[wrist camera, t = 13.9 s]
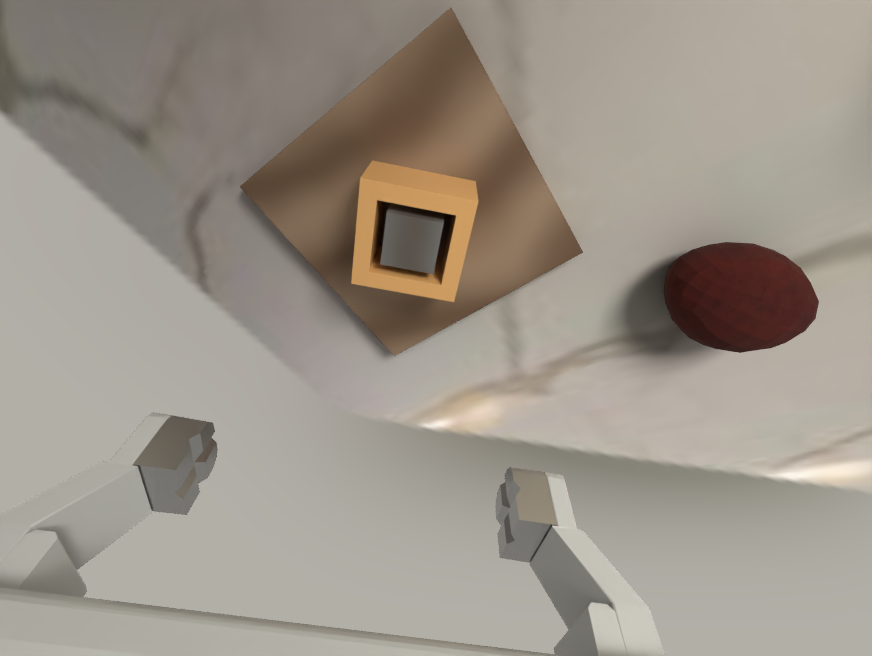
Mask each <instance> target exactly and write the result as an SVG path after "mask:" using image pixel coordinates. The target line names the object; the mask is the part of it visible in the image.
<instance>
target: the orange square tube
mask: <svg viewBox="0 0 872 656" xmlns="http://www.w3.org/2000/svg"><path fill="white" fill-rule="evenodd" d="M384 202H390V203H395V204H400V205H405V206H410V207H415V208H420V209H426V210H431V211H436V212H441V213H446V214H451V215H452V217H451V222H450V226H449V231H448V236H447V241H446V245H445V250H444V255H443V258H442V257H437V259H436V264H435V269H434V274H430V273H424V272H419V271H413V270H408V269H402V268H397V267H391V266H386V265H380V262H381V254H382V246H379V241H380V233H381V224H382V216H383V208H384ZM477 206H478V194H477V187H476V181H472V180H467V179H462V178H457V177H452V176H447V175H442V174H437V173H432V172H427V171H422V170H417V169H412V168H407V167H402V166H397V165H393V164H388V163H383V162H378V161H373V160H372V162H371V163H370V164H369V166H368V167H367V169H366V170H365V172H364V173H363V175H362V176H361V177H360V186H359V198H358V209H357V221H356V233H355V245H354V257H353V268H352V280H351V284H356V285H362V286H367V287H373V288H378V289H384V290H389V291H395V292H401V293H406V294H412V295H417V296H423V297H428V298H434V299H439V300H445V301H451V302H454V301H455V296H456V292H457V288H458V284H459V280H460V276H461V272H462V268H463V263H464V259H465V255H466V251H467V247H468V243H469V239H470V234H471V230H472V226H473V222H474V218H475V214H476V210H477Z"/></svg>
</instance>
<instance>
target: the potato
mask: <svg viewBox="0 0 872 656" xmlns="http://www.w3.org/2000/svg"><path fill="white" fill-rule="evenodd" d="M664 295H665V302H666V305H667V308H668V310H669V313H670V315H671V318H672V320H673V321H674V322H675V323H676V325H677V326H678V327H679V328H680V329H681V330H682V331H683V332H684V333H685V334H686V335H687V336H688V337H689V338H691V339H693V340H695V341H697V342H699V343H701V344H703V345H706V346H709V347H712V348H715V349H721V350H727V351H733V352H739V353H741V352H747V351H754V350H760V349H767V348H772V347H775V346H778V345H780V344H783V343H786V342H788V341H789V340H791V339H792V338H794V337H796V336H797V335H799V334H800V333H802V332H804V331H805V330H806V329H807V328H808V327H809V325H810V324H811V323H812V322H813V321H814V320H815V318H816V313H817V308H818V303H819V301H818V299H817V296H816V294H815V292H814V289H813V287H812V285H811V283H810V281H809V280H808V278H807V277H806V275H805V274H804V272H803V271H802V269H801V268H800V267H799V266H797V265H796V264H795V263H793V262H792V261H791V260H790V259H788V258H787V257H786V256H784V255H782V254H780V253H778V252H776V251H774V250H771V249H768V248H765V247H762V246H759V245H756V244H749V243H730V242H725V243H718V244H711V245H707V246H703V247H700V248H697V249H693V250H691V251H689V252H688V253H686V254H684V255H682V256H680V257H679V258H678V259H677V260H676V261H675V262H674V263H673V264H672V265H671V266H670V268H669V270H668V273H667V275H666V278H665V285H664Z"/></svg>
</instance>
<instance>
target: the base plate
mask: <svg viewBox="0 0 872 656" xmlns="http://www.w3.org/2000/svg"><path fill="white" fill-rule="evenodd" d="M372 160H373V161H378V162H383V163H388V164H393V165H397V166H402V167H407V168H412V169H417V170H422V171H427V172H432V173H437V174H442V175H447V176H452V177H457V178H462V179H467V180H472V181H476V187H477V194H478V206H477V210H476V214H475V218H474V222H473V226H472V230H471V234H470V239H469V243H468V247H467V251H466V255H465V259H464V263H463V268H462V272H461V276H460V280H459V284H458V288H457V292H456V296H455V301H454V302H451V301H445V300H439V299H434V298H428V297H423V296H417V295H412V294H406V293H401V292H395V291H389V290H384V289H378V288H373V287H367V286H362V285H356V284H351V280H352V268H353V257H354V245H355V233H356V221H357V209H358V198H359V186H360V177H361V176H362V175H363V173H364V172H365V170H366V169H367V167H368V166H369V164H370V163H371V162H372ZM240 187H241V189H242V190H243V191H244V192H245V193H246V194H247V195H248V196H249V197H250V198H251V199H252V201H253V202H254V203H255V204H256V205H257V206H258V207H259V208H260V209H261V210H262V212H263V213H264V214H265V215H266V216H267V217H268V218H269V219H270V220H271V221H272V223H273V224H274V225H275V226H276V227H277V228H278V229H279V230H280V231H281V232H282V234H283V235H284V236H285V237H286V238H287V239H288V240H289V241H290V242H291V243H292V245H293V246H294V247H295V248H296V249H297V250H298V251H299V252H300V253H301V254H302V255H303V257H304V258H305V259H306V260H307V261H308V262H309V263H310V264H311V265H312V266H313V268H314V269H315V270H316V271H317V272H318V273H319V274H320V275H321V276H322V277H323V279H324V280H325V281H326V282H327V283H328V284H329V285H330V286H331V287H332V288H333V290H334V291H335V292H336V293H337V294H338V295H339V296H340V297H341V298H342V299H343V301H344V302H345V303H346V304H347V305H348V306H349V307H350V308H351V309H352V310H353V311H354V313H355V314H356V315H357V316H358V317H359V318H360V319H361V320H362V321H363V322H364V324H365V325H366V326H367V327H368V328H369V329H370V330H371V331H372V332H373V333H374V335H375V336H376V337H377V338H378V339H379V340H380V341H381V342H382V343H383V344H384V346H385V347H386V348H387V349H388V350H389V351H390V352H391V353H392V354H393V355H394V356H395V355H397V354H399V353H401V352H402V351H404V350H406V349H408V348H410V347H411V346H413V345H415V344H417V343H419V342H421V341H422V340H424V339H426V338H428V337H430V336H431V335H433V334H435V333H437V332H439V331H441V330H442V329H444V328H446V327H448V326H450V325H452V324H453V323H455V322H457V321H459V320H461V319H462V318H464V317H466V316H468V315H470V314H472V313H473V312H475V311H477V310H479V309H481V308H483V307H484V306H486V305H488V304H490V303H492V302H493V301H495V300H497V299H499V298H501V297H503V296H504V295H506V294H508V293H510V292H512V291H514V290H515V289H517V288H519V287H521V286H523V285H524V284H526V283H528V282H530V281H532V280H534V279H535V278H537V277H539V276H541V275H543V274H545V273H546V272H548V271H550V270H552V269H554V268H555V267H557V266H559V265H561V264H563V263H565V262H566V261H568V260H570V259H572V258H574V257H575V256H577V255H579V254H581V253H583V251H582V249H581V248H580V246H579V244H578V242H577V240H576V238H575V236H574V235H573V233H572V231H571V229H570V227H569V225H568V223H567V222H566V220H565V218H564V216H563V214H562V212H561V210H560V209H559V207H558V205H557V203H556V201H555V199H554V197H553V196H552V194H551V192H550V190H549V188H548V186H547V184H546V183H545V181H544V179H543V177H542V175H541V173H540V171H539V170H538V168H537V166H536V164H535V162H534V160H533V158H532V157H531V155H530V153H529V151H528V149H527V147H526V146H525V144H524V142H523V140H522V138H521V136H520V134H519V133H518V131H517V129H516V127H515V125H514V123H513V121H512V120H511V118H510V116H509V114H508V112H507V110H506V108H505V107H504V105H503V103H502V101H501V99H500V97H499V95H498V94H497V92H496V90H495V88H494V86H493V84H492V82H491V81H490V79H489V77H488V75H487V73H486V71H485V69H484V68H483V66H482V64H481V62H480V60H479V58H478V56H477V55H476V53H475V51H474V49H473V47H472V45H471V43H470V42H469V40H468V38H467V36H466V34H465V32H464V30H463V29H462V27H461V25H460V23H459V21H458V19H457V17H456V16H455V14H454V12H453V10H452V8H450V9H449V10H447V11H446V12H445V13H444V14H443V15H442V16H440V17H439V18H438V19H437V20H436V21H435V22H433V23H432V24H431V25H430V26H429V27H427V28H426V29H425V30H424V31H423V32H422V33H420V34H419V35H418V36H417V37H416V38H414V39H413V40H412V41H411V42H410V43H409V44H407V45H406V46H405V47H404V48H403V49H402V50H400V51H399V52H398V53H397V54H396V55H394V56H393V57H392V58H391V59H390V60H389V61H387V62H386V63H385V64H384V65H383V66H381V67H380V68H379V69H378V70H377V71H376V72H374V73H373V74H372V75H371V76H370V77H369V78H367V79H366V80H365V81H364V82H363V83H361V84H360V85H359V86H358V87H357V88H356V89H354V90H353V91H352V92H351V93H350V94H348V95H347V96H346V97H345V98H344V99H343V100H341V101H340V102H339V103H338V104H337V105H336V106H334V107H333V108H332V109H331V110H330V111H328V112H327V113H326V114H325V115H324V116H323V117H321V118H320V119H319V120H318V121H317V122H315V123H314V124H313V125H312V126H311V127H310V128H308V129H307V130H306V131H305V132H304V133H302V134H301V135H300V136H299V137H298V138H297V139H295V140H294V141H293V142H292V143H291V144H290V145H288V146H287V147H286V148H285V149H284V150H282V151H281V152H280V153H279V154H278V155H277V156H275V157H274V158H273V159H272V160H271V161H269V162H268V163H267V164H266V165H265V166H264V167H262V168H261V169H260V170H259V171H258V172H257V173H255V174H254V175H253V176H252V177H251V178H249V179H248V180H247V181H246V182H245V183H244V184H242V185H241V186H240ZM451 217H452V215H451V214H446V213H441V212H436V211H431V210H426V209H420V208H415V207H410V206H405V205H400V204H395V203H390V202H384V208H383V216H382V224H381V233H380V241H379V246H382V254H381V262H380V265H386V266H391V267H397V268H402V269H408V270H413V271H419V272H424V273H430V274H434V269H435V264H436V259H437V257H442V258H443V255H444V250H445V245H446V241H447V236H448V231H449V226H450V222H451Z"/></svg>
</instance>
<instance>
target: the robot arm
mask: <svg viewBox="0 0 872 656" xmlns="http://www.w3.org/2000/svg"><path fill="white" fill-rule="evenodd" d="M214 432H215V430H214V425H213V423H211V422H206V421H200V420H195V419H189V418H184V417H178V416H172V415H166V414H160V413H151V414H150V415H148V416H147V417H146V418H145V419H144V420H143V421H142V423H141V424H140V425H139V426H138V427H137V429H136V430H135V431H134V432H133V433H132V435H131V436H130V437H129V438H128V440H127V441H126V442H125V443H124V444H123V446H122V447H121V448H120V449H119V451H118V452H117V453H116V454H115V455H114V457H113V458H112V459H111V460H110V461H109V462H106V461H102V462H100V463H99V464H97V465H95V466H93V467H91V468H89V469H87V470H85V471H83V472H81V473H79V474H77V475H75V476H74V477H71V478H69V479H67V480H66V481H64V482H62V483H60V484H58V485H56V486H54V487H52V488H50V489H48V490H46V491H44V492H42V493H40V494H39V495H36V496H34V497H33V498H30V499H29V500H27V501H25V502H23V503H21V504H19V505H17V506H15V507H13V508H11V509H9V510H7V511H6V512H3V513H1V514H0V656H665V653H664V651H663V648H662V645H661V642H660V639H659V636H658V633H657V630H656V627H655V624H654V621H653V618H652V615H651V612H650V610H649V608H648V607H647V605H646V604H645V603H644V602H643V601H642V600H641V598H640V597H639V596H638V595H637V594H636V593H635V592H634V590H633V589H632V588H631V587H630V585H629V584H628V583H627V582H626V581H625V580H624V578H623V577H622V576H621V575H620V574H619V572H618V571H617V570H616V569H615V568H614V567H613V565H612V564H611V563H610V562H609V561H608V560H607V558H606V557H605V556H604V555H603V554H602V553H601V551H600V550H599V549H598V548H597V547H596V546H595V544H594V543H593V542H592V541H591V540H590V538H589V537H588V536H587V535H586V534H585V533H584V531H583V530H580V529H577V526H576V523H575V519H574V515H573V511H572V507H571V503H570V499H569V495H568V491H567V487H566V484H565V480H564V478H563V476H562V475H558V474H551V473H545V472H541V471H534V470H526V469H519V468H512V467H510V468H508V469H507V471H506V473H505V483H503V484H501V485H500V488H499V490H498V493H497V499H496V519H497V520H498V522H499V523H500V524H501V528H500V530H499V532H498V543H499V553H500V558H505V559H512V560H517V561H524V562H529V563H530V566H531V567H532V569H533V571H534V572H535V574H536V575H537V577H538V579H539V581H540V583H541V584H542V586H543V587H544V589H545V591H546V593H547V594H548V596H549V597H550V599H551V601H552V603H553V604H554V606H555V608H556V609H557V611H558V613H559V614H560V616H561V618H562V619H563V621H564V622H565V624H566V626H567V628H568V629H569V630H568V632H567V633H566V634H565V635H564V637H563V638H562V639H561V640H560V641H559V643H558V644H557V645H556V646H555V647H554V653H555V654H546V653H538V652H530V651H521V650H513V649H505V648H497V647H488V646H480V645H472V644H464V643H456V642H448V641H439V640H431V639H423V638H414V637H406V636H398V635H390V634H382V633H373V632H365V631H357V630H349V629H341V628H332V627H325V626H316V625H308V624H300V623H292V622H283V621H275V620H267V619H258V618H250V617H242V616H234V615H225V614H217V613H209V612H201V611H193V610H185V609H176V608H168V607H160V606H152V605H143V604H135V603H126V602H119V601H110V600H102V599H94V598H86V597H84V595H85V594H86V592H87V590H86V585H85V584H84V582H83V580H82V578H81V576H80V575H79V573H78V571H77V569H79V568H80V567H81V566H83V565H84V564H85V563H87V562H88V561H89V560H91V559H92V558H93V557H95V556H96V555H97V554H99V553H100V552H101V551H103V550H104V549H105V548H107V547H108V546H109V545H111V544H112V543H113V542H114V541H116V540H117V539H118V538H120V537H121V536H123V535H124V534H125V533H127V532H128V531H129V530H130V529H132V528H133V527H134V526H136V525H137V524H138V523H140V522H141V521H142V520H144V519H145V518H146V517H148V516H149V515H150V514H152V511H157V512H167V513H175V514H185V515H187V513H188V512H189V510H190V508H191V506H192V505H193V503H194V501H195V499H196V498H197V496H198V494H199V492H200V491H199V486H198V483H200V482H201V481H203V480H205V479H206V478H208V476H209V475H210V473H211V471H212V469H213V467H214V464H215V460H216V457H217V443H216V442H215V441H214V440H213V439H212V438H211V437H212V435H213V434H214Z"/></svg>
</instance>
